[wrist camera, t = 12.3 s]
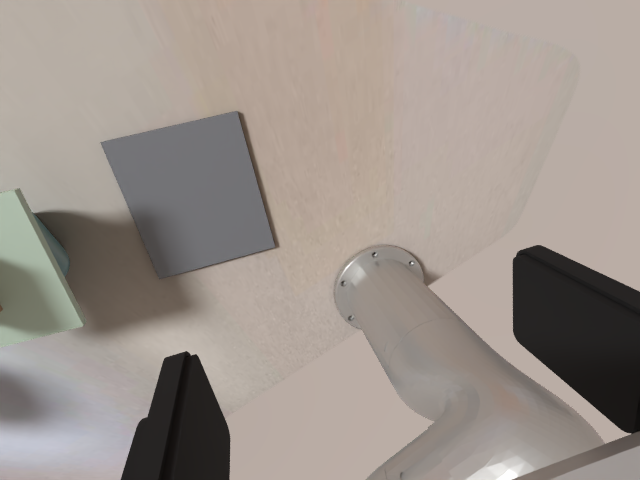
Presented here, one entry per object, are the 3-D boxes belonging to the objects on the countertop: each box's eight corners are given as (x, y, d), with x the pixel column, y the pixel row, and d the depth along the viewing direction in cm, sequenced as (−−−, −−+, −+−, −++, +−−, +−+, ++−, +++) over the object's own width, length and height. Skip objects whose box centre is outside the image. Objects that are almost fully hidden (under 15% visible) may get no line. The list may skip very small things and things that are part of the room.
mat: (274, 245, 45) (275, 247, 45) (160, 276, 44) (159, 279, 43) (237, 111, 39) (237, 111, 39) (102, 141, 38) (100, 142, 37)
